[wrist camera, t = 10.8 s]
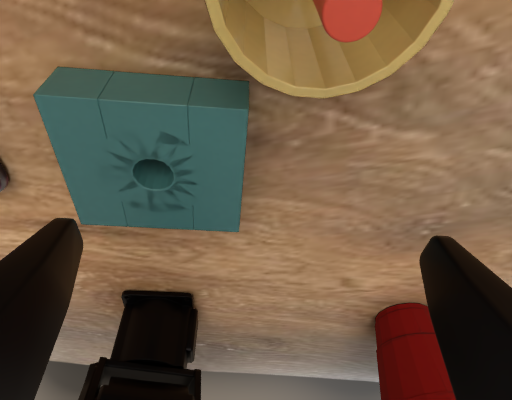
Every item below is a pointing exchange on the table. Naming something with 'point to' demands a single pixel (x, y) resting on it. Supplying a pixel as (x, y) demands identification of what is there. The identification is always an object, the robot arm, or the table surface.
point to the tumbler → (320, 43)
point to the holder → (148, 147)
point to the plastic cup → (410, 355)
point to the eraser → (3, 178)
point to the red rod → (348, 17)
